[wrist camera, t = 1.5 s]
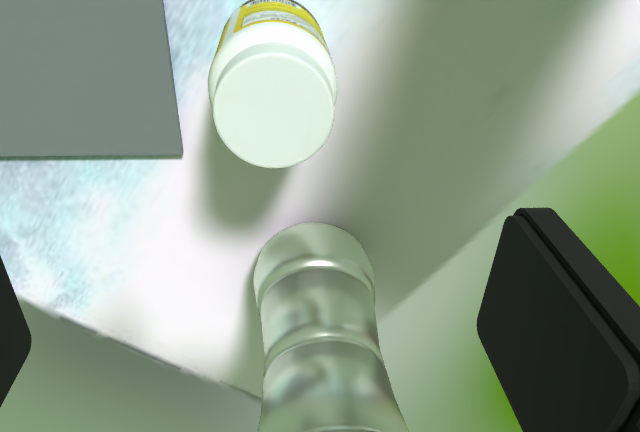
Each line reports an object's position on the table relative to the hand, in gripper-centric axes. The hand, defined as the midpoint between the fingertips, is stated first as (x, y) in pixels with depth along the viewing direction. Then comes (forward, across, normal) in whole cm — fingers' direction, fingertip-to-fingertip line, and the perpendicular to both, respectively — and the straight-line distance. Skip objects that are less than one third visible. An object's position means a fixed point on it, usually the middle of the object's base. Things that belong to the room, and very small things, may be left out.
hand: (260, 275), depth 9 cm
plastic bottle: (+17, -2, +12) cm, 21 cm away
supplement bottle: (+17, 0, 0) cm, 17 cm away
